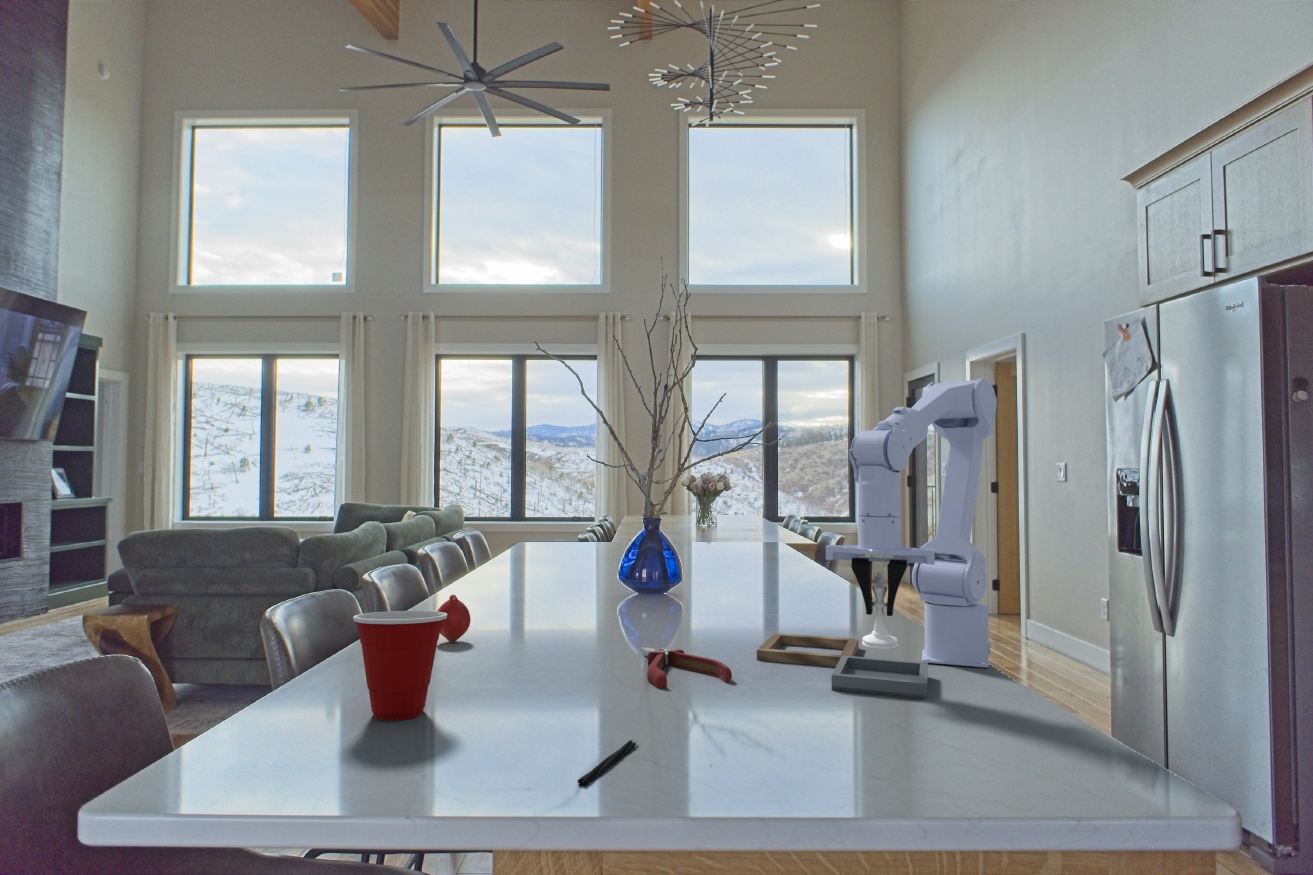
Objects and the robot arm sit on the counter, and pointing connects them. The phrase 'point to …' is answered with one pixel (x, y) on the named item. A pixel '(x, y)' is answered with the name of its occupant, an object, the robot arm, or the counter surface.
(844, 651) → the brown square frame
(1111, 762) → the counter surface
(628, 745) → the electrical cable
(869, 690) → the tray
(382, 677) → the plastic cup
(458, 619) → the onion
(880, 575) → the chess piece
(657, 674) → the pliers
